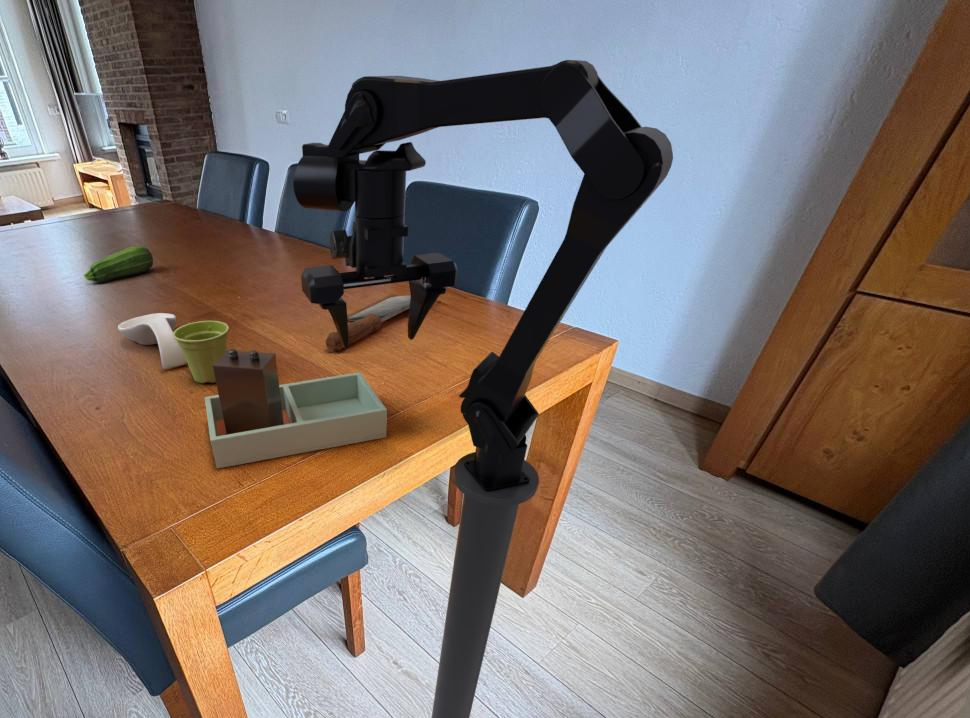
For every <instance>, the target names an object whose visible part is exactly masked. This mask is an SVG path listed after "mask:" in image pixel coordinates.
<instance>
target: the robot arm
mask: <svg viewBox="0 0 970 718" xmlns="http://www.w3.org/2000/svg"><path fill="white" fill-rule="evenodd" d="M535 119H537V120H538V119H548V120H549V121H550V122H551V123H552V125H553V127H554V128H555V130H556V131H557V134H558V135H559V137H560V138H561V140H562V142H563V144H564V146H565V148H566V150H567V151H568V153H569V155H570V157H571V158H572V160H573V161H574V162H575V164H576V165H577V166H578V168H579V169H580V170H581V171H582V172H583V177H582V179H581V183H580V185H579V188H578V190H577V193H576V196H575V198H574V201H573V205H572V208H571V212H570V217H569V221H568V225H567V228H566V232H565V235H564V239H563V240H562V242H561V244H560V245H559V248H558V250H557V251H556V253H555V255H554V257H553V259H552V261H551V262H550V263H549V266H548V268H547V270H546V271H545V273H544V275H543V277H542V279H541V280H540V282H539V284H538V285H537V288H536V289H535V291H534V293H533V295H532V297H531V298H530V301H529V302H528V304H527V305H526V307H525V309H524V311H523V313H522V314H521V317H520V319H519V320H518V322H517V324H516V325H515V327H514V329H513V331H512V333H511V334H510V337H509V338H508V340H507V341H506V344H505V345H504V347H503V349H502V350H501V353H500V354H499V355H498V354H496V353H495V352H494V351H491V352H490V353H489V354H488V355H486V356H485V358H483V359H482V361H480V363H478V365H476V367H475V368H473V370H472V372H471V375H470V377H469V380H468V383H467V386H466V388H464V390H462V392H461V393H460V394H459V395H458V397H459V398H461V399H463V400H462V401H461V404H460V413H461V414H462V417H463V420H464V421H465V422H466V423H467V426H468V430H469V434H470V437H471V441H472V445H473V447H475V451H474V452H475V460H471V461H466V462H465V463H464V467H465V468H466V469H467V470H468V471H469V473H470V474H471V475H472V476H473V478H474V479H475V480H476V481H477V482H478V484H479V485H480V486H481V487H482V489H483V490H484V491H486V492H490V491H495V490H500V489H504V488H509V487H514V486H518V485H523V484H528V483H529V481H530V478H529V477H528V476H527V475H526V474H525V473H524V472H523V471H522V468H523V463H524V460H526V459H525V458H526V455H527V449H528V443H527V435H526V434H527V433H528V432H529V430H530V428H531V427H532V426H533V424H534V423H535V421H536V420H537V418H538V417H539V416H540V413H539V412H538V410H537V409H536V408H535V406H534V405H533V403H532V402H531V400H530V399H529V398H528V397H527V395H526V393H527V391H528V388H529V386H530V383H531V381H532V377H533V373H534V368H535V365H536V362H537V360H538V359H539V357H540V356H541V354H542V352H543V351H544V349H545V347H546V346H547V344H548V342H549V341H550V339H551V337H552V336H553V334H554V333H555V331H556V330H557V328H558V327H559V325H560V323H561V322H562V320H563V318H564V317H565V315H566V314H567V312H568V310H569V308H570V307H571V306H572V304H573V303H574V300H575V299H576V297H577V296H578V294H579V292H580V291H581V289H582V288H583V286H584V284H585V283H586V282H587V279H588V278H589V277H590V275H591V273H592V271H593V270H594V269H595V266H596V265H597V264H598V262H599V260H600V258H601V257H602V255H603V254H604V252H605V250H606V249H607V248H608V247H609V245H610V244H611V242H612V241H613V240H614V239H615V238H616V237H617V236H618V234H619V233H620V232H621V231H622V230H623V229H624V228H625V227H626V225H627V224H628V223H629V222H630V221H631V219H633V218H634V216H635V215H636V214H637V212H638V211H640V209H641V208H642V207H643V206H644V205H645V203H646V202H647V201H648V200H649V199H650V197H651V196H653V194H654V193H655V192H656V191H657V189H658V188H659V187H660V186H661V185H662V183H663V182H664V181H665V179H666V178H667V176H668V174H669V172H670V170H671V168H672V165H673V160H674V153H673V152H674V151H673V146H672V142H671V141H670V139H669V138H668V136H667V134H666V133H664V132H663V131H662V130H660V129H658V128H656V127H651V126H642V125H641V123H640V122H639V121H638V120H637V118H636V117H635V116H634V115H633V113H632V112H631V111H630V110H629V108H627V106H626V105H625V104H624V103H622V101H621V100H620V99H619V98H618V97H617V96H616V95H615V93H613V92H612V90H611V89H610V88H609V87H608V86H607V85H606V84H605V83H604V82H603V80H602V78H601V77H600V76H599V74H598V71H597V69H596V68H595V66H594V65H593V64H592V63H590V62H589V61H588V60H580V59H579V60H578V59H566V60H562V61H560V62H558V63H555V64H552V65H549V66H541V67H540V66H539V67H533V68H527V69H526V68H525V69H518V70H510V71H505V72H496V73H488V74H481V75H473V76H466V77H459V78H451V79H445V80H437V79H430V78H429V79H428V78H424V77H414V76H405V75H369V76H361V77H360V78H358V79H357V78H356V80H355V81H354V82H352V84H351V88H350V89H349V91H348V93H347V96H346V99H345V103H344V111H343V114H342V116H341V118H340V120H339V122H338V124H337V126H336V128H335V130H334V133H333V134H332V137H331V139H330V141H329V143H328V144H325V143H323V142H309V143H303V144H302V146H301V150H302V151H301V152H302V157H300V159H299V160H298V162H297V165H296V168H295V171H294V178H293V180H292V186H293V193H294V196H295V198H296V201H297V202H298V203H299V205H300V206H301V207H302V208H304V209H310V210H312V209H313V210H324V211H335V212H336V211H337V212H348V211H349V210H350V209H352V207H353V205H354V219H355V220H353V222H352V234H351V235H348V233H347V232H348V231H347V230H346V229H340V230H339V229H338V230H331V231H330V232H329V248H330V249H329V250H330V257H331V259H332V260H338V259H344V262H345V267H351V268H352V269H354V268H355V270H353V271H346V272H340V271H339V270H337V269H336V268H335V267H334V266H333V265H332V264H329V265H320V266H313V267H312V266H311V267H305V268H304V270H303V271H302V273H301V276H300V281H301V291H302V293H303V294H304V296H306V298H307V300H308V301H309V302H310V303H311V304H315V305H319V307H320V308H321V309H322V310H327V311H328V313H329V314H330V316H331V319H332V321H333V323H334V326H335V329H336V332H338V334H339V337H340V340H341V342H342V345H343V347H342V348H343V349H344V350H348V349H349V345H350V344H349V335H348V325H349V323H348V322H349V321H348V320H347V318H348V306H347V302H346V301H345V300H344V299H343V298H342V297H343V296H344V295H345V290H349V289H351V290H352V289H358V288H366V287H374V286H380V285H382V286H383V285H390V284H398V283H405V282H408V285H409V293H410V295H411V298H410V308H409V309H408V318H407V319H408V320H407V338H408V339H409V340H411V341H412V340H414V339H415V337H416V336H417V334H418V332H419V330H420V329H421V326H422V325H423V322H424V320H425V319H426V317H427V315H428V313H429V312H430V311H431V309H432V308H433V306H434V305H435V303H436V301H437V300H438V298H439V297H440V296H441V295H445V294H447V288H448V287H450V288H451V287H455V286H456V285H458V275H459V269H458V266H457V263H456V262H455V261H454V260H453V259H451V258H449V257H447V256H446V255H444V254H442V253H440V252H432V253H422V254H414V255H413V257H412V259H411V261H410V264H406V263H405V262H404V248H405V247H404V246H405V244H404V241H405V237H408V236H409V226H408V225H406V224H405V219H406V217H405V216H406V214H405V213H406V192H407V191H406V189H407V172H410V171H414V170H417V169H421V168H424V167H425V166H426V164H427V162H426V159H425V158H424V157H423V156H422V155H421V154H420V153H419V152H418V151H417V150H416V148H415V146H414V144H413V142H412V141H409V142H403V143H400V144H399V145H398V147H397V149H396V150H380V149H381V148H382V147H384V146H385V145H386V144H388V143H393V142H398V141H399V142H400V141H402V140H405V139H408V138H412V137H414V136H418V135H421V134H424V133H427V132H429V131H433V130H434V129H435V130H436V129H437V128H443V127H453V126H454V127H455V126H456V127H457V126H467V125H477V124H488V123H489V124H490V123H500V122H501V123H502V122H512V121H523V120H535ZM369 152H371V153H370V154H369V155H368V157H367V159H360V154H365V153H369ZM348 344H349V345H348Z"/></svg>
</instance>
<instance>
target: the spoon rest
mask: <svg viewBox="0 0 970 718" xmlns="http://www.w3.org/2000/svg"><path fill="white" fill-rule="evenodd" d="M176 324H177V316H176V315H175V314H172V313H166V312H157V313H149V314H145V315H139V316H136V317H132V318H130V319H127V320H124V321H123V322H120V323H119V324H118V326H117V329H118V331H119V333H121V334H122V336H123V337H125V338H127V339H128V340H131V341H133V342H136V343H137V344H139V345H143V346H151V345H156V344H157V346H158V350H159V355H160V361H161V362H160V363H161V366H162V369H163V370H169V369H173V368H176V367H181V366H184V365H186V364H188V363H187V360H186V358H185V355H184V353H183V350H182V348H181V347H180V346H179V344H178V342H177V340H176V339H174V337H173V332H174V330H175V327H176Z"/></svg>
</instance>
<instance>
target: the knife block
mask: <svg viewBox="0 0 970 718" xmlns="http://www.w3.org/2000/svg"><path fill="white" fill-rule="evenodd" d="M213 370H214V374H215V379H216V382H215V384H216V389H217V393H218V394H217V395H219V399H220V404H221V409H222V414H223V419H224V424H225V428H226V433H227V435H228V434H234V433H239V432H245V431H251V430H257V429H262V428H268V427H274V426H280V425H284V420H283V412H282V404H281V396H280V387H279V385H280V380H279V379H280V378H279V371H278V364H277V355H276V353H274V352H259V351H257V350H255V349H253V350H251V351H247V350H245V351H244V350H237V349H235V348H231V349H228V350H227V352H226V353H225V354H224V355H223V356H222V357H221V358H220V359H219V360H218V361H217V362H216V363H215V364H214V365H213Z"/></svg>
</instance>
